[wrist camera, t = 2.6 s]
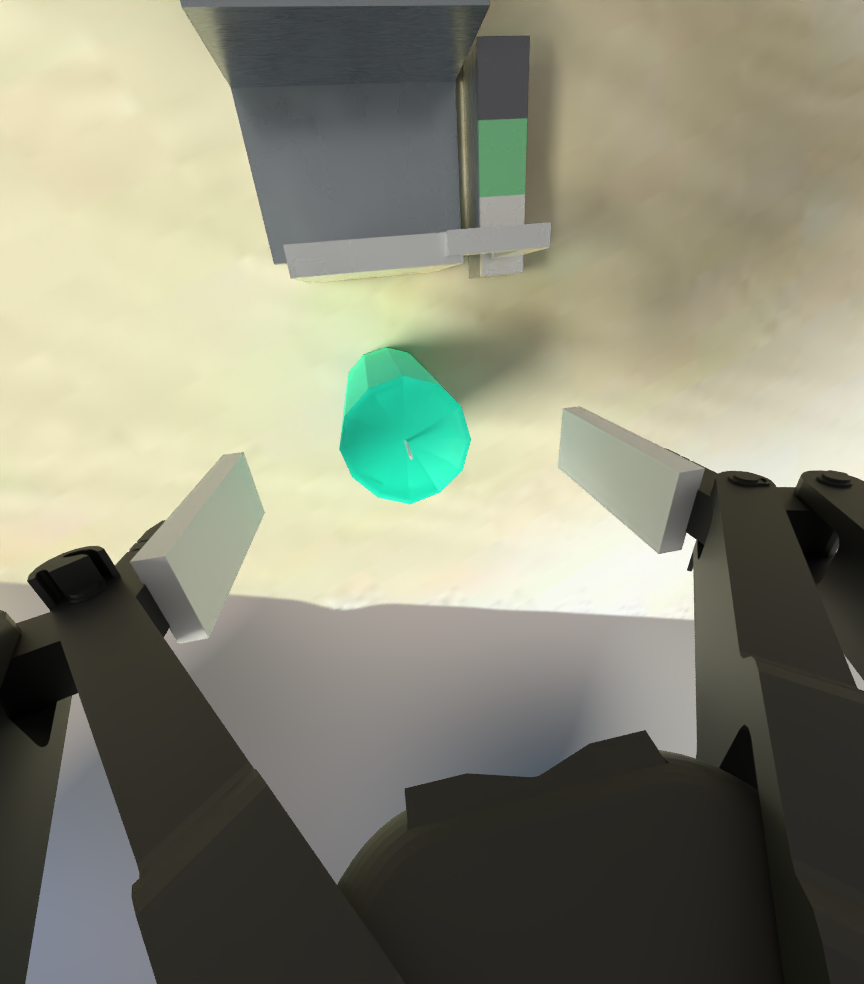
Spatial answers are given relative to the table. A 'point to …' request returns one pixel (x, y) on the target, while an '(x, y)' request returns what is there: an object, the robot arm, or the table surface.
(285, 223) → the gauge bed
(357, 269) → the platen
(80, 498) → the table surface
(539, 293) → the table surface
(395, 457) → the candle
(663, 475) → the robot arm
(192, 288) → the table surface
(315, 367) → the table surface
